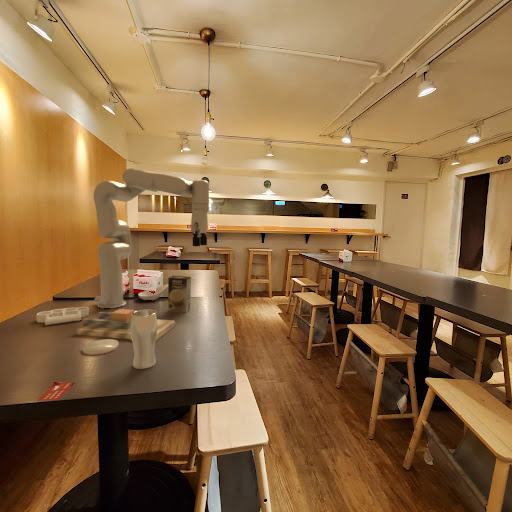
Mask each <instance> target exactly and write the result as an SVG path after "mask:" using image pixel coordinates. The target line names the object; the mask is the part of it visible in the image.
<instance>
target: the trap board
mask: <svg viewBox="0 0 512 512" xmlns="http://www.w3.org/2000/svg"><path fill="white" fill-rule="evenodd" d="M175 326H176V321H175V320H171V319H170V320H169V319H158V318H157V335H156V341H158V339H160V338H161V337H162V336H164V335H165V334H166V333H168V332H169V331H170V330H171V329H173V328H174V327H175ZM130 327H131V325H130V322H126V321H113V320H112V312H109V311H107V312H105V311H100V312H98V318H97V319H96V318H88V317H87V318H86V317H84V318H83V319H82V325H81V326H80V327H77V328H75V335H77V336H78V335H79V336H88V337H89V336H90V337H91V336H92V337H99V338H100V337H101V338H110V339H111V338H112V339H123V340H124V339H125V340H132V338H131V329H130Z"/></svg>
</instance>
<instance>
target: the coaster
mask: <svg viewBox="0 0 512 512" xmlns="http://www.w3.org/2000/svg"><path fill="white" fill-rule="evenodd" d="M119 344H120V343H119V341H118V340H116V339H114V338H112V339H111V338H110V339H109V338H106V339H99V340H93V341H90V342H88V343H86V344H85V345H84V346H82V353H83V354H84V355H89V356H95V355H96V356H98V355H99V356H100V355H103V354H104V355H105V354H107V353H110V352H112V351H113V352H114V351H115V350H116V349H118V348H119V346H120V345H119Z"/></svg>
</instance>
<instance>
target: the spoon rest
mask: <svg viewBox="0 0 512 512" xmlns="http://www.w3.org/2000/svg"><path fill="white" fill-rule="evenodd" d="M167 289H168V283H167V284H164V285H163V284H162V285H160V286H159V287H156V292H155V293H154V294H153V293H151V292H149V291H148V290H144V291H141V292H139V293H138V294H137V295H138V298H139V299H141V300H143V301H146V300H152V301H156V300H158V299H159V298H160V297H161V295H163V293H164V292H165V291H166V290H167Z"/></svg>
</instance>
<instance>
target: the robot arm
mask: <svg viewBox="0 0 512 512" xmlns="http://www.w3.org/2000/svg"><path fill="white" fill-rule="evenodd" d="M121 178H122V181H123V183H122V182H121V183H120V182H117V181H114V180H103V181H101V182H99V183H97V185H96V186H95V188H94V191H93V202H94V206H95V207H94V208H95V212H96V221H97V229H98V234H99V235H100V237H102V238H103V239H113V240H111V241H110V240H109V241H105V242H102V243H100V245H99V246H98V247H97V253H96V254H97V258H98V261H99V262H98V263H99V272H100V273H99V274H100V276H99V277H100V295H96V296H95V298H94V301H97V302H98V303H97V308H99V307H100V308H99V309H104V308H110V309H117V307H118V308H122V307H125V306H126V305H127V301H126V300H124V295H123V294H124V292H123V290H124V289H123V285H124V283H123V266H122V264H121V260H125V259H128V258H129V257H130V256H131V255H132V252H133V245H132V244H133V243H132V236H131V229H130V226H129V225H128V223H127V222H126V221H125V220H121V219H118V215H117V214H118V213H117V208H116V206H115V204H114V202H113V201H117V202H123V203H124V202H125V203H126V202H129V201H131V200H133V199H134V198H136V197H137V196H139V195H141V194H142V193H144V192H145V191H150V192H163V193H168V194H172V195H177V196H180V197H183V198H191V211H192V213H191V219H190V220H191V221H190V232H191V233H192V246H193V247H200V246H207V245H208V228H209V227H208V225H209V223H208V219H209V218H208V213H209V211H210V207H209V206H210V197H209V195H210V184H209V181H207V180H204V179H196V180H195V179H194V180H193V181H189V180H187V179H185V178H183V177H180V176H177V175H176V176H174V175H170V174H165V173H158V172H153V171H148V170H143V169H138V168H132V167H131V168H127V169H125V170H124V171H123V173H122V177H121ZM121 306H122V307H121Z"/></svg>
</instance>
